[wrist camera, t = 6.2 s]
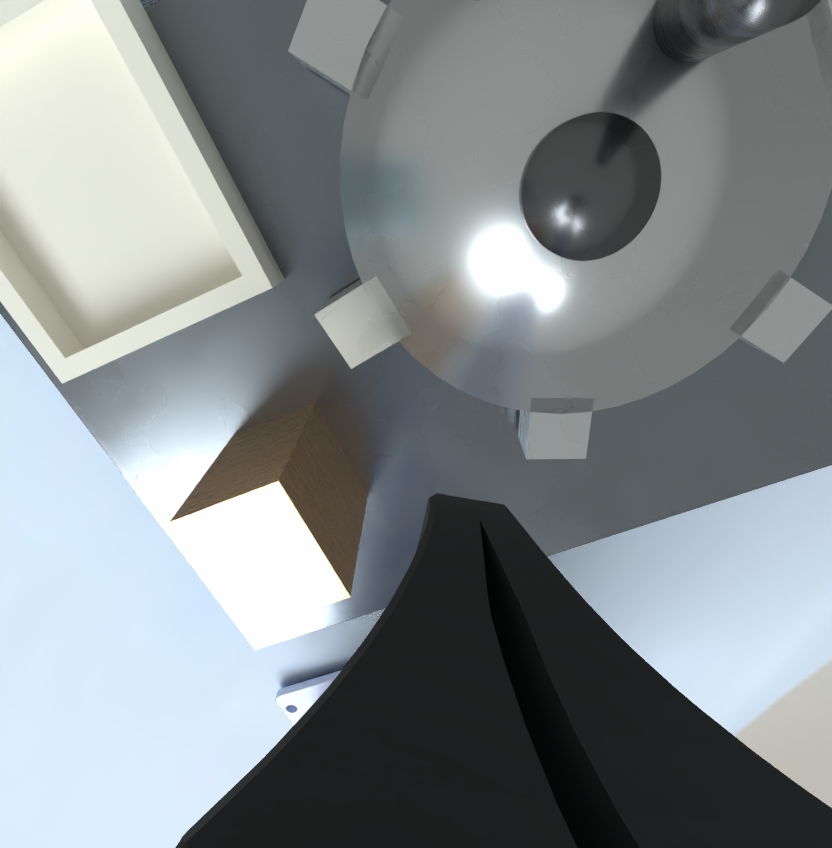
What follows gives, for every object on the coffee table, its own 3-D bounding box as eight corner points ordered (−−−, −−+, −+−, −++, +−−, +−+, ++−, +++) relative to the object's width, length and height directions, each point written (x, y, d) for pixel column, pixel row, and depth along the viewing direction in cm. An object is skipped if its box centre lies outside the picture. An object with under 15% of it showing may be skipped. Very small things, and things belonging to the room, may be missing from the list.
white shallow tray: (284, 278, 16) (272, 287, 15) (88, 368, 17) (61, 383, 16) (117, -43, 13) (83, -68, 11) (-108, 95, 14) (-161, 87, 13)
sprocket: (976, 82, 13) (1244, 36, 9) (626, 493, 19) (689, 590, 14) (464, -353, 10) (494, -730, 6) (219, 279, 16) (140, 319, 11)
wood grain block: (367, 497, 19) (350, 596, 15) (289, 525, 20) (249, 630, 15) (315, 402, 18) (278, 480, 13) (232, 436, 18) (168, 522, 14)
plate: (848, 443, 19) (865, 453, 18) (260, 634, 23) (254, 649, 22) (770, -338, 11) (794, -374, 10) (-90, 162, 15) (-115, 161, 15)
